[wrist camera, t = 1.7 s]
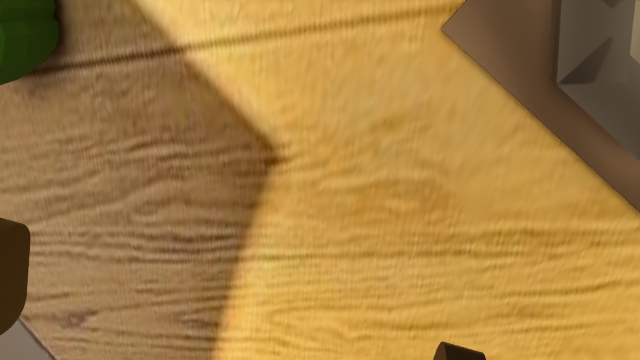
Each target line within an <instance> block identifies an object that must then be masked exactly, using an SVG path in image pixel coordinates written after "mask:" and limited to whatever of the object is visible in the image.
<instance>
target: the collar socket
mask: <svg viewBox="0 0 640 360" xmlns="http://www.w3.org/2000/svg"><path fill="white" fill-rule="evenodd" d="M441 30H442V31H443V32H444V33H445V34H447V35H448V36H449V37H450V38H451V39H452V40H453V41H454V42H455V43H456V44H457V45H458V46H460V47H461V48H462V49H463V50H464V51H465V52H466V53H467V54H468V55H469V56H470V57H472V58H473V59H474V60H475V61H476V62H477V63H478V64H479V65H480V66H481V67H482V68H484V69H485V70H486V71H487V72H488V73H489V74H490V75H491V76H492V77H493V78H494V79H495V80H497V81H498V82H499V83H500V84H501V85H502V86H503V87H504V88H505V89H506V90H507V91H509V92H510V93H511V94H512V95H513V96H514V97H515V98H516V99H517V100H518V101H519V102H520V103H522V104H523V105H524V106H525V107H526V108H527V109H528V110H529V111H530V112H531V113H532V114H534V115H535V116H536V117H537V118H538V119H539V120H540V121H541V122H542V123H543V124H544V125H545V126H547V127H548V128H549V129H550V130H551V131H552V132H553V133H554V134H555V135H556V136H557V137H559V138H560V139H561V140H562V141H563V142H564V143H565V144H566V145H567V146H568V147H569V148H570V149H572V150H573V151H574V152H575V153H576V154H577V155H578V156H579V157H580V158H581V159H582V160H584V161H585V162H586V163H587V164H588V165H589V166H590V167H591V168H592V169H593V170H594V171H595V172H597V173H598V174H599V175H600V176H601V177H602V178H603V179H604V180H605V181H606V182H607V183H609V184H610V185H611V186H612V187H613V188H614V189H615V190H616V191H617V192H618V193H619V194H621V195H622V196H623V197H624V198H625V199H626V200H627V201H628V202H629V203H630V204H631V205H632V206H634V207H635V208H636V209H637V210H638V211H639V212H640V0H466V1H465V2H464V3H463V4H462V5H461V7H460V8H459V9H458V10H457V11H456V12H455V13H454V14H453V15H452V16H451V18H450V19H449V20H448V21H447V22H446V23H445V24H444V25H443V26H442V28H441Z"/></svg>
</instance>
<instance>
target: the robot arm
mask: <svg viewBox="0 0 640 360" xmlns="http://www.w3.org/2000/svg"><path fill="white" fill-rule="evenodd" d="M29 253H30V232H29V229H28V227H27V226H26V225H24V224H21V223H18V222H14V221H10V220H7V219H3V218H0V335H1V334H3V333H4V332H5V331H7V330H8V329H9V328H11V327H12V325H13V324H14V323H15V322H16V321H17V319H18V318H19V316H20V314H21V312H22V310H23V308H24V305H25V302H26V296H27V283H28V268H29ZM433 360H486V358H485V355H484V353H482V352H478V351H475V350H471V349H468V348H464V347H460V346H457V345H453V344H450V343H446V342H441V343H440V344H439V346H438V348H437V350H436V353H435V356H434V359H433Z"/></svg>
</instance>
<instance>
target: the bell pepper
mask: <svg viewBox="0 0 640 360" xmlns="http://www.w3.org/2000/svg"><path fill="white" fill-rule="evenodd" d="M55 9H56V5H55V1H54V0H0V85H2V84H5V83H8V82H11V81H14V80H17V79H19V78H20V77H22V76H24V75H25V74H27V73H29V72H30V71H32V70H34V69H35V68H37V67H38V66H39V65H41V64H42V63H43V62H45V61H46V60H47V58H48V57H49V55H50V54H51V52H52V51H53V49H54V48H55V46H56V45H57V43H58V41H59V39H60V36H59V23H58V22H57V20H56V19H55V17H54V16H53V15H54V12H55Z"/></svg>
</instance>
